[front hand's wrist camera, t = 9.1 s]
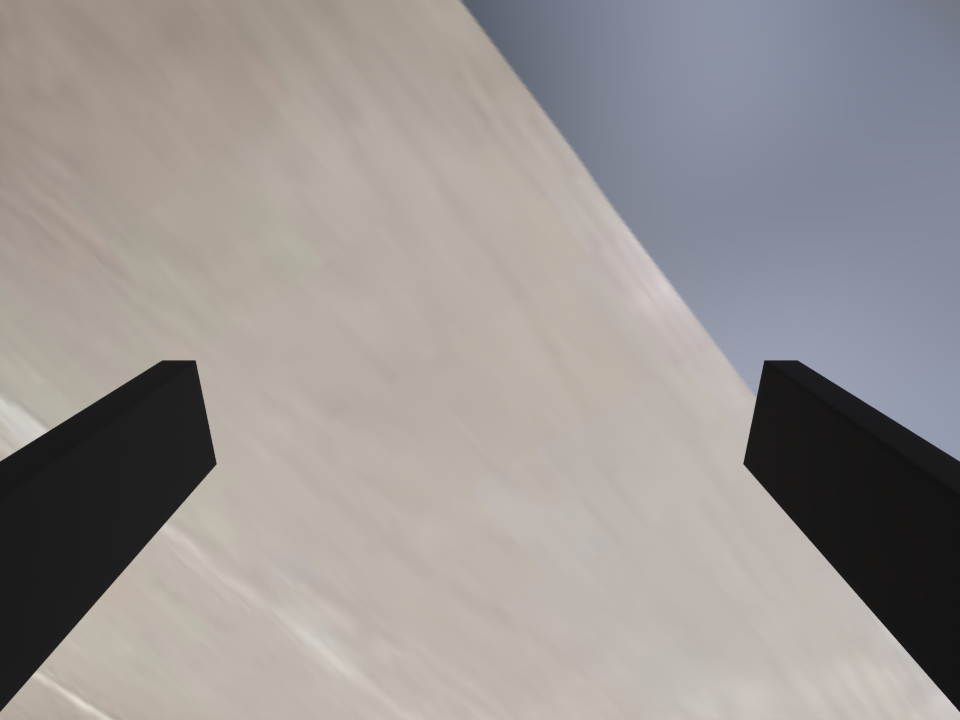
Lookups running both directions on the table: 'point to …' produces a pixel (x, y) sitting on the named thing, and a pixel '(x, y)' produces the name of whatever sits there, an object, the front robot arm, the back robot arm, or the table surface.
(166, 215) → the table surface
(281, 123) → the table surface
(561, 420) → the table surface
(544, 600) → the table surface
